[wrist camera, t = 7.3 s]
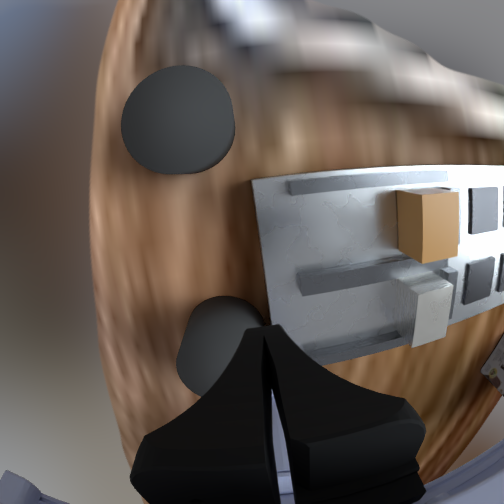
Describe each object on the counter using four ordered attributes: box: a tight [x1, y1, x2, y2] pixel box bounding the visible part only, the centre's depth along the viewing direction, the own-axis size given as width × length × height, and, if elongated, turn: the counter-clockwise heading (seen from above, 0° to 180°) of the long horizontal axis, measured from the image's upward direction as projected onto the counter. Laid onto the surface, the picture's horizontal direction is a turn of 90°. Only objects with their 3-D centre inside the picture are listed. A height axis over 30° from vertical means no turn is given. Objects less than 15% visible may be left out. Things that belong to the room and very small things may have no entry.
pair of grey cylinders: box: [121, 65, 264, 397], centre depth 18 cm, size 6×21×5 cm, turn 8°
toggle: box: [397, 188, 459, 264], centre depth 16 cm, size 3×4×3 cm
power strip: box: [251, 164, 504, 366], centre depth 18 cm, size 26×13×6 cm, turn 98°
